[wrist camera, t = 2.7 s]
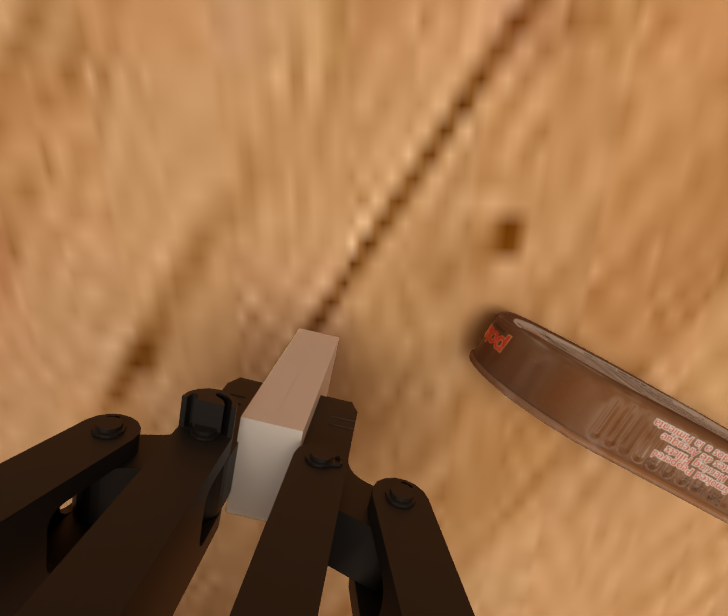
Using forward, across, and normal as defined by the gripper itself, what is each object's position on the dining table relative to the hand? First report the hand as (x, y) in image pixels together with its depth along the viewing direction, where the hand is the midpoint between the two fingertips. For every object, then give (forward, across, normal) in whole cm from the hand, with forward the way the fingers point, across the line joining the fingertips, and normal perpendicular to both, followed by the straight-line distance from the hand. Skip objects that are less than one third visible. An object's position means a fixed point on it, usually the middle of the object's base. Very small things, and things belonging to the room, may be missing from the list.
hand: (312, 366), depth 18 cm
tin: (+8, -14, +1) cm, 16 cm away
